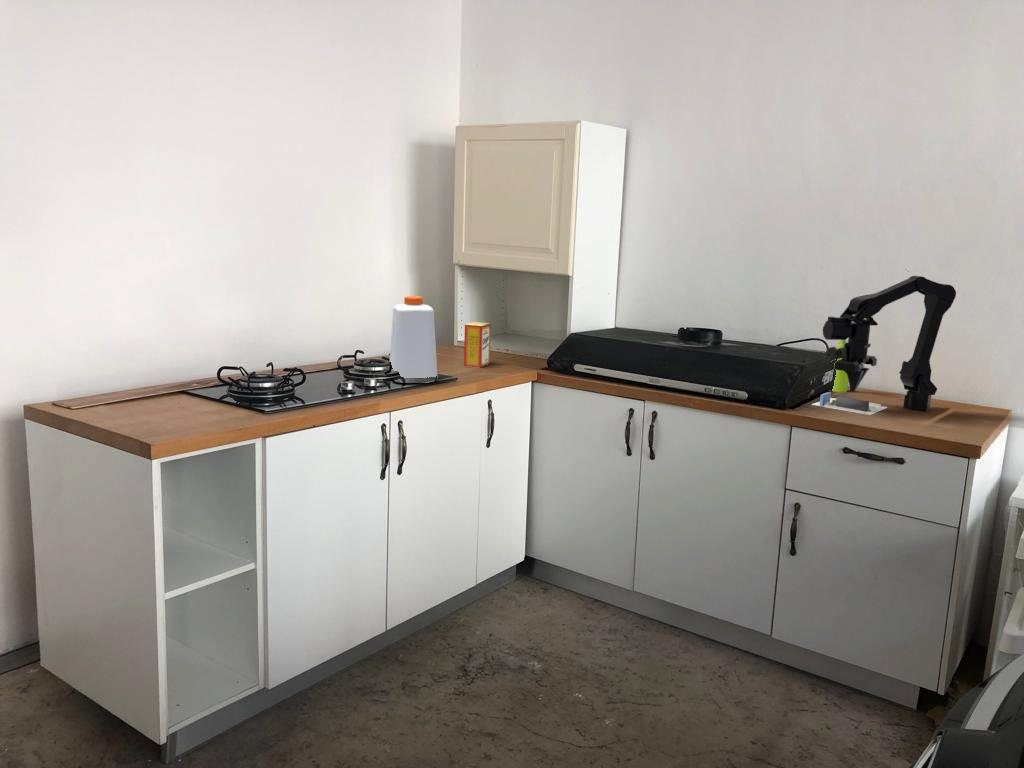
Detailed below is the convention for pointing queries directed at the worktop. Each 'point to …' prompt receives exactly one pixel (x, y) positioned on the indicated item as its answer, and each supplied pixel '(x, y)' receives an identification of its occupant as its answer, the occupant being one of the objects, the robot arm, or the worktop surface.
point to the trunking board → (831, 403)
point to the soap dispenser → (840, 375)
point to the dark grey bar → (852, 403)
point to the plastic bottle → (413, 339)
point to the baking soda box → (477, 344)
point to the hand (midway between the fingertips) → (852, 391)
